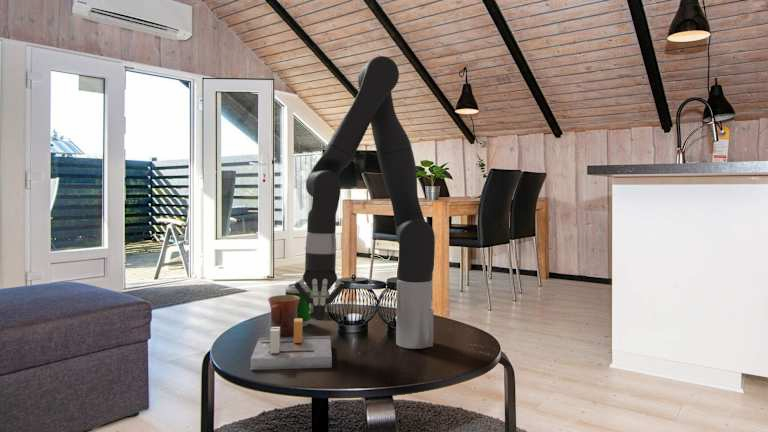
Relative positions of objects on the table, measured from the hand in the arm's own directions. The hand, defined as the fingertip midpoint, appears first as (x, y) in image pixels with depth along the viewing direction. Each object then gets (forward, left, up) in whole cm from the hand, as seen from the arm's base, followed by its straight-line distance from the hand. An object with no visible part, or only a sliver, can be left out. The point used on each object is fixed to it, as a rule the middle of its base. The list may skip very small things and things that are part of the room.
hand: (318, 319), depth 130 cm
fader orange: (+5, 0, -5) cm, 7 cm away
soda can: (+6, -27, -8) cm, 29 cm away
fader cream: (+10, +8, -5) cm, 14 cm away
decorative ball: (+1, -42, -8) cm, 43 cm away
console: (+6, +4, -8) cm, 11 cm away
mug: (+10, -15, -8) cm, 20 cm away
